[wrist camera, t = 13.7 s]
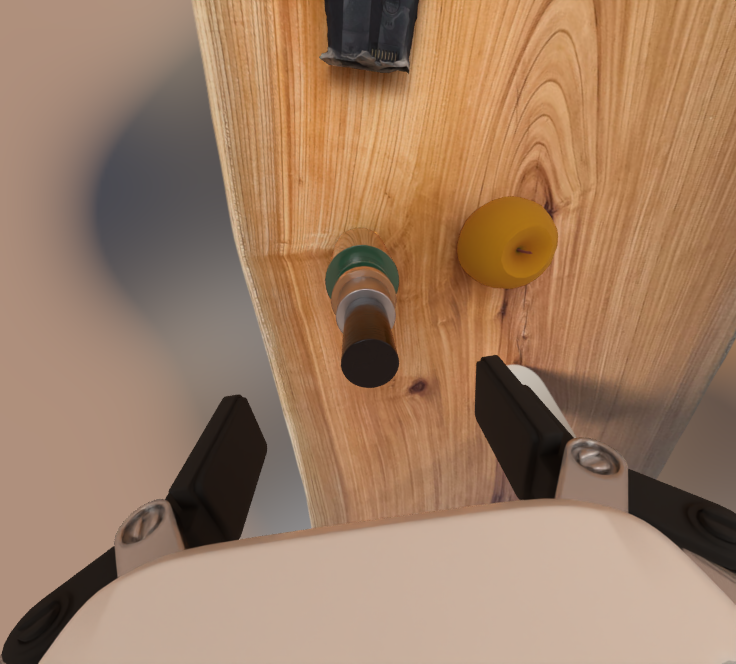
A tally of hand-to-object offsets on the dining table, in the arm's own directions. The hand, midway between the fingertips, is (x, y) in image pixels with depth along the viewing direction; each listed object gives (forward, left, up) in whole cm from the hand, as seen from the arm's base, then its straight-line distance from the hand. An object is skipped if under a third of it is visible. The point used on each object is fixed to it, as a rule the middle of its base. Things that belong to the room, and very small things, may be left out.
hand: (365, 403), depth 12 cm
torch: (0, 0, -12) cm, 12 cm away
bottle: (0, 0, -29) cm, 29 cm away
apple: (+14, +8, -30) cm, 34 cm away
